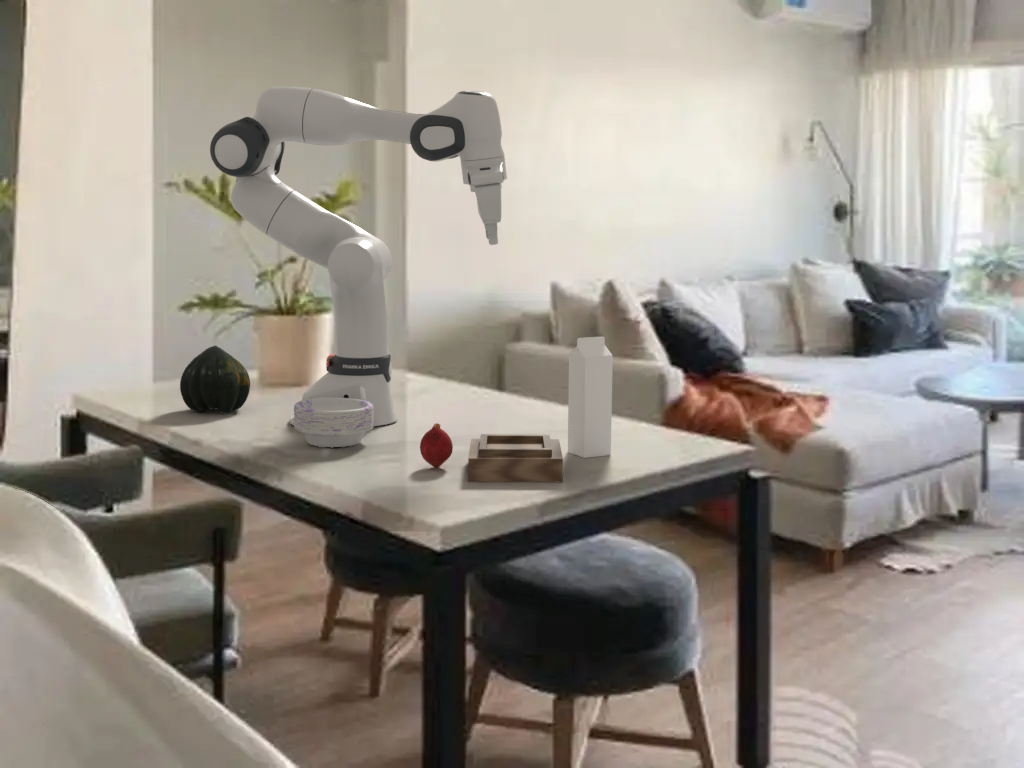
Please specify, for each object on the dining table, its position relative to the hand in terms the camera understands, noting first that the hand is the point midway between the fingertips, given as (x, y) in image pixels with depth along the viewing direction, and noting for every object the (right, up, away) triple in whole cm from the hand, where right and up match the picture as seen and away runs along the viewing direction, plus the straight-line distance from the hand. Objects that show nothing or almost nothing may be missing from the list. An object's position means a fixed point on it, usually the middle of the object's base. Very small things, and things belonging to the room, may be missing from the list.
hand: (492, 241), depth 242 cm
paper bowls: (-31, -41, -11) cm, 52 cm away
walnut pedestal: (+4, -44, -32) cm, 55 cm away
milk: (+18, -42, -18) cm, 50 cm away
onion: (-10, -44, -30) cm, 54 cm away
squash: (-62, -35, +22) cm, 74 cm away
